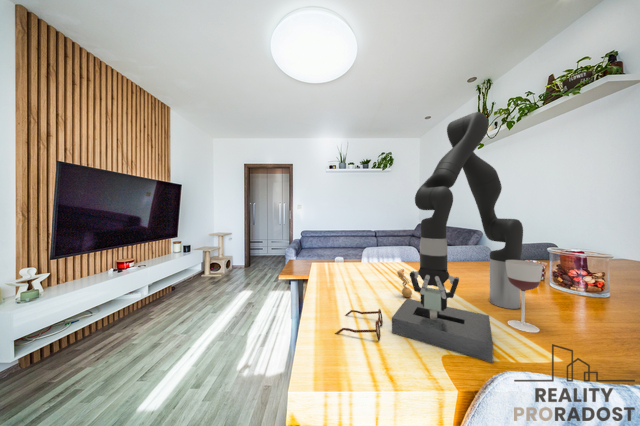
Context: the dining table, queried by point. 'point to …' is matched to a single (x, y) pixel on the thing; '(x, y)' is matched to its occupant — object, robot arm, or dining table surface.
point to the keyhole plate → (446, 329)
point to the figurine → (405, 290)
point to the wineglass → (523, 286)
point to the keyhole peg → (432, 301)
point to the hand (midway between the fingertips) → (433, 307)
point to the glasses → (365, 330)
